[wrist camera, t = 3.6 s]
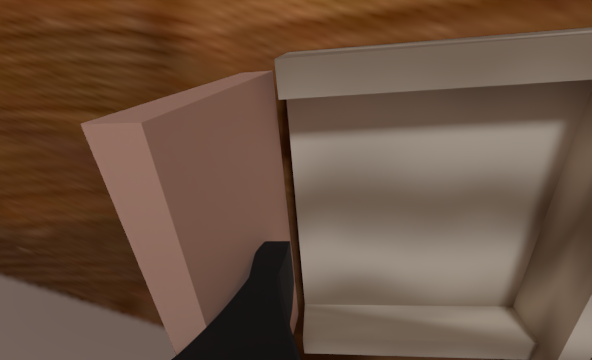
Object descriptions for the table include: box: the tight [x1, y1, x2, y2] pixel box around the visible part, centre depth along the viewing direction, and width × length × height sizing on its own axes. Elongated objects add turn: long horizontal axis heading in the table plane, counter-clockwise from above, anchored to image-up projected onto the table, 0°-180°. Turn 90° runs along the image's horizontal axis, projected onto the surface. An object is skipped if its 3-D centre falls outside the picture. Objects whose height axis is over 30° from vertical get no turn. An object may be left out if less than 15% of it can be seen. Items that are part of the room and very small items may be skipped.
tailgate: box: [81, 71, 298, 355], centre depth 11 cm, size 13×2×7 cm, turn 4°
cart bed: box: [275, 28, 592, 360], centre depth 12 cm, size 14×12×5 cm
